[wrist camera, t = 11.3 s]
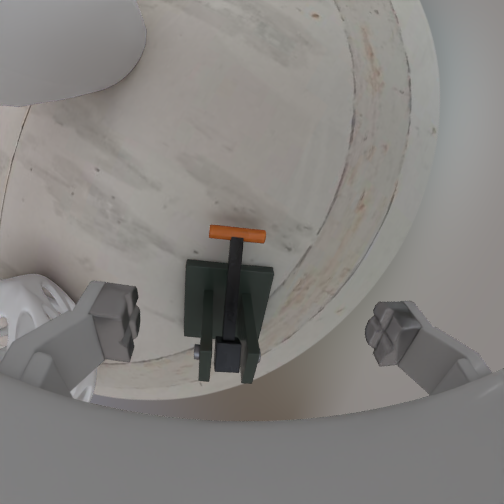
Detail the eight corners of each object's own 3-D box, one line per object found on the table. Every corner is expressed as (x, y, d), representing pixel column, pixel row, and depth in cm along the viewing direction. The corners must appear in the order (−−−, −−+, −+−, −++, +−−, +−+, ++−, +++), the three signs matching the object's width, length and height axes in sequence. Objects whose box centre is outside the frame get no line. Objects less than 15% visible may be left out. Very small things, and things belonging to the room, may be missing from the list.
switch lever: (209, 226, 26) (210, 222, 24) (262, 231, 27) (268, 228, 25) (199, 361, 26) (198, 370, 23) (250, 364, 26) (254, 373, 24)
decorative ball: (-5, 220, 24) (-92, 300, 8) (124, 278, 29) (69, 413, 14) (6, 326, 32) (-38, 404, 16) (106, 374, 37) (82, 470, 22)
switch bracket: (187, 259, 29) (175, 323, 20) (272, 267, 30) (291, 331, 22) (184, 329, 33) (177, 394, 25) (256, 334, 35) (266, 398, 26)
